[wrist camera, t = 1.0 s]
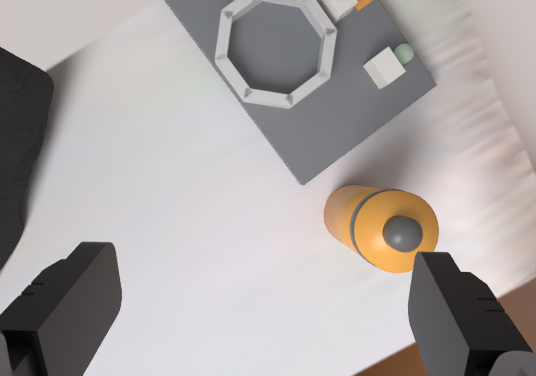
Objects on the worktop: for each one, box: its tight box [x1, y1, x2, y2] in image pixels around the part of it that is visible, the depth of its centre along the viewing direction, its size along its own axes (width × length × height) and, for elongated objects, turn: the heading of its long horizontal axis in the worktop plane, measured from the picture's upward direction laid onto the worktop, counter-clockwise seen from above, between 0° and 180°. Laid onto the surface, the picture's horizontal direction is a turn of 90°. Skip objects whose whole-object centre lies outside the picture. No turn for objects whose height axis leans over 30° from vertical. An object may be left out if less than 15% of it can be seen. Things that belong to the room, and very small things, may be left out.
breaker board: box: [165, 0, 437, 185], centre depth 33 cm, size 19×13×4 cm
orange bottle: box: [324, 185, 439, 273], centre depth 30 cm, size 5×5×11 cm
